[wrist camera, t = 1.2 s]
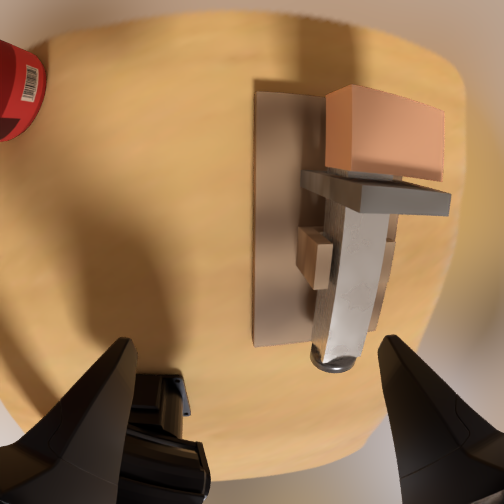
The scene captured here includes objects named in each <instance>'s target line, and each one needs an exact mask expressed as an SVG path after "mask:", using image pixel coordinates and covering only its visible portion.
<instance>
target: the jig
mask: <svg viewBox="0 0 504 504" xmlns="http://www.w3.org/2000/svg"><path fill="white" fill-rule="evenodd" d="M325 154H326V98H325V97H318V96H310V95H301V94H290V93H278V92H261V91H256V93H255V94H254V225H253V345H254V347H264V346H274V345H284V344H292V343H301V342H308V341H311V334H312V327H313V320H314V313H315V305H316V298H317V290H319V289H328V284H329V276H330V268H331V260H332V250H333V243H331V242H330V241H329V240H328V239H326V238H325V237H324V236H323V229H324V216H325V201H326V198H328V199H330V200H332V201H334V202H337V203H339V204H341V205H343V206H345V207H347V208H350V209H352V210H354V211H356V212H358V213H369V214H390V215H389V223H388V231H387V238H386V245H385V251H384V257H383V263H382V268H381V274H380V279H379V284H378V289H377V293H376V298H375V302H374V307H373V311H372V315H371V319H370V323H369V327H368V331H367V332H370V331H375V330H376V327H377V323H378V319H379V315H380V311H381V307H382V303H383V299H384V295H385V290H386V286H387V282H388V280H389V276H390V271H391V266H392V260H393V255H394V249H395V243H396V242H395V237H396V230H397V223H398V215H399V214H406V215H431V216H449V209H450V201H451V194H450V193H446V192H443V191H439V190H436V189H432V188H428V187H424V186H421V185H417V184H413V183H409V182H404V181H402V176H396V175H393V181H384V180H373V179H360V178H347V177H342V176H338V175H334V174H329V173H327V167H326V166H325Z"/></svg>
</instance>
